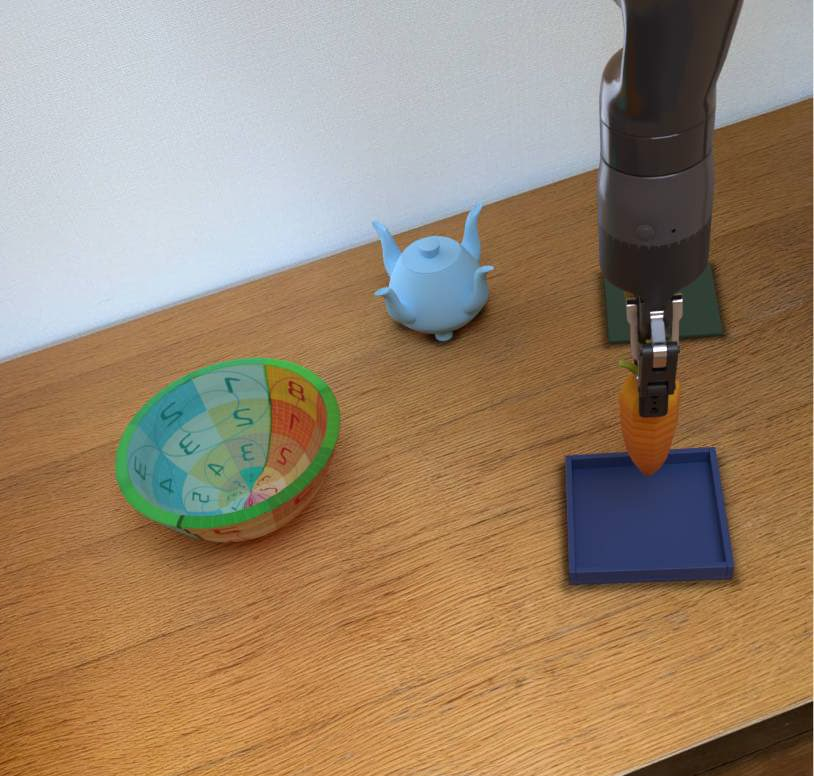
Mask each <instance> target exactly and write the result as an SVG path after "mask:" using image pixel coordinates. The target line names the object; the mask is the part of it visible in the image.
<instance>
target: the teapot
mask: <svg viewBox="0 0 814 776" xmlns="http://www.w3.org/2000/svg"><path fill="white" fill-rule="evenodd" d="M482 208H483V203H481V202H479V203H477V204H475V205H474V206H473V207H472V208H471V209H470V210H469V212H468V214H467V217H466V220H465V224H464V231H463V238H462V241H461V243H460V242H458V241H456V240H455V239H453V238H451V237H447V236H441V235H432V236H431V235H430V236H426V237H422V238H419V239H417V240H415V241H413V242H412V243H410V244H409V245H408V246H407V247H406V248H405V249H404V250H403V251H401V250H400V248H399V246H398V245H397V242H396V240H395V239H394V237H393V235H392V233H391V232H390V231H389V229H388V228H387V226H385V225H384V224H383V223H382V222H380V221H377V220H372V221H371V224H372V225H371V226H372V228H373V229H374V230H375V232H376V233H377V235H378V237H379V239H380V243H381V247H382V260H383V265H384V268H385V270H386V273H387V275H388V277H389V278H390V279H389V284H388V286H385V287H381V288H379V289H377V290H376V291H375V292H374V296H376V297H383V299H384V302H385V308H386V311H387V313H388V315H389V317H390V318H391V319H392V320H393V321H395V322H397V323H400V324H401V325H403V326H405V327H406V328H409V329H410V330H412V331H415V332H418V333H422V334H427V335H435V338H436V340H438V341H441V342H445V341H448V340H451V338H452V337H453V336H454V333H453V331H456V330H459V329H460V328H463V327H464V326H466V325H467V324H469V323H470V322H471V321H472V320H474V318H475V317H477V315H478V314H479V313H480V312H481V311H482V310H483V308H484V307H485V306H486V304H487V302H488V300H489V297H490V289H489V283H488V280H487V276H488V274H489V273H490V272H491V271H493V270H494V269H495V267H494V266H493V265H483V266H481V265H480V259H481V256H482V245H481V239H480V235H479V230H478V229H479V228H478V221H479V216H480V213H481V211H482Z"/></svg>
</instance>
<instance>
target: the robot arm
mask: <svg viewBox="0 0 814 776" xmlns="http://www.w3.org/2000/svg"><path fill="white" fill-rule="evenodd" d="M612 1H613V3H615V4H616V6H617V7H618V8H619V9H620V11H621V17H622V23H623V24H622V25H623V45H622V47H621V48H619V49H618V50H617V51H616V52H615V53H613V54H612V56H610V59H609V60H608V61H607V62H606V63H605V66H604V69H603V71H602V74H601V79H600V83H599V95H598V111H599V113H598V115H599V147H600V149H599V163H598V169H597V170H598V172H597V180H596V181H597V182H596V184H597V185H596V194H597V226H598V227H597V229H598V263H599V268H600V271H601V274H602V275H603V278H604V277H605V278H606V279H607V280H608V281H609V282H610V283H611V284H612V285H614V286H615V287H617V288H619V289H621V290H623V291H624V296H625V298H626V316H627V321H628V323H629V324H630V342H629V346H630V347H629V349H630V354H631V355H630V356H631V358H632V359H633V363H634V364H635V365H636V366H637V367H638V375H636V382H638V392H639V404H638V408H639V415H640V416H641V417H643V418H649V417H662V416H665V415H666V414H667V413H668V397H669V395H674V390H676V383H675V380H677V370H678V360H679V354H681V346H680V339H679V320H680V319H681V318H682V315H683V299H682V293H678V291H680V290H681V289H683V288H684V287H686V286H688V285H690V284H691V283H693V282H694V281H695V280H696V279H698V278H699V276H700V275H701V274H702V273H703V272H704V270H705V268H706V266H707V263H709V259H710V245H711V232H712V220H713V206H714V193H715V181H716V173H715V172H716V171H715V170H716V169H715V159H714V138H715V137H714V136H715V125H716V110H717V84H718V81H719V78H720V75H721V72H722V70H723V68H724V65H725V62H726V61H727V58H728V54H729V51H730V48H731V46H732V41H733V38H734V36H735V32H736V29H737V25H738V22H739V19H740V16H741V13H742V10H743V6H744V2H745V0H612ZM669 331H670V338H669V339H668V340H666V336H667V335H668V333H669ZM646 340H651V343H646Z"/></svg>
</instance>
